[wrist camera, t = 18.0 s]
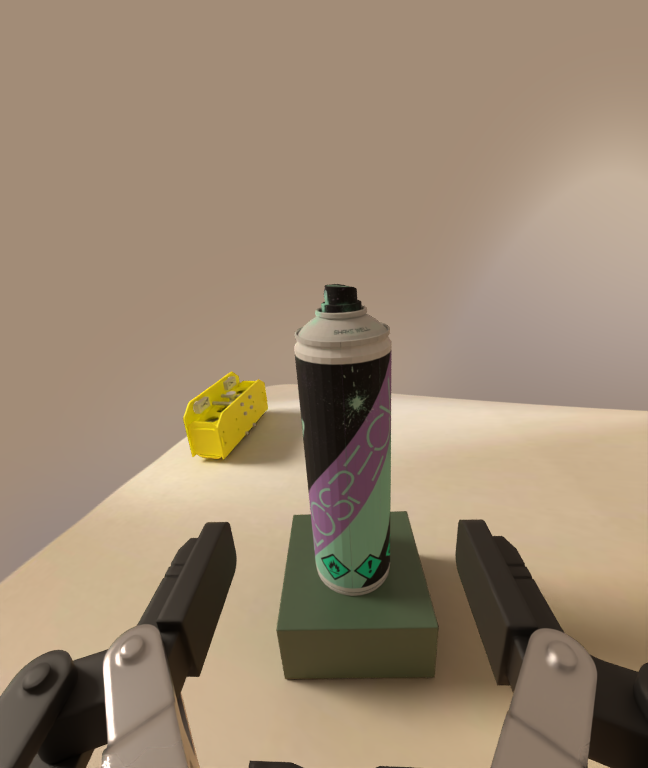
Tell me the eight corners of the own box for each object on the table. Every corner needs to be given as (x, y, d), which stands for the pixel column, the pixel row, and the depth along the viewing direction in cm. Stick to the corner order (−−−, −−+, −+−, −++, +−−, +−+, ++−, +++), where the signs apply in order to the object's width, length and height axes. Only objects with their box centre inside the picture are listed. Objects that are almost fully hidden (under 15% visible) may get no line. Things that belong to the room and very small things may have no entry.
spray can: (300, 568, 26) (266, 290, 18) (344, 523, 30) (331, 278, 22) (363, 612, 22) (352, 293, 15) (403, 555, 26) (410, 278, 19)
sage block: (284, 679, 23) (276, 630, 22) (298, 556, 33) (293, 514, 31) (434, 678, 23) (439, 627, 21) (405, 553, 32) (406, 510, 30)
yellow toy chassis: (241, 411, 63) (233, 367, 60) (270, 412, 62) (264, 368, 59) (190, 461, 49) (177, 408, 46) (226, 464, 48) (215, 409, 45)
